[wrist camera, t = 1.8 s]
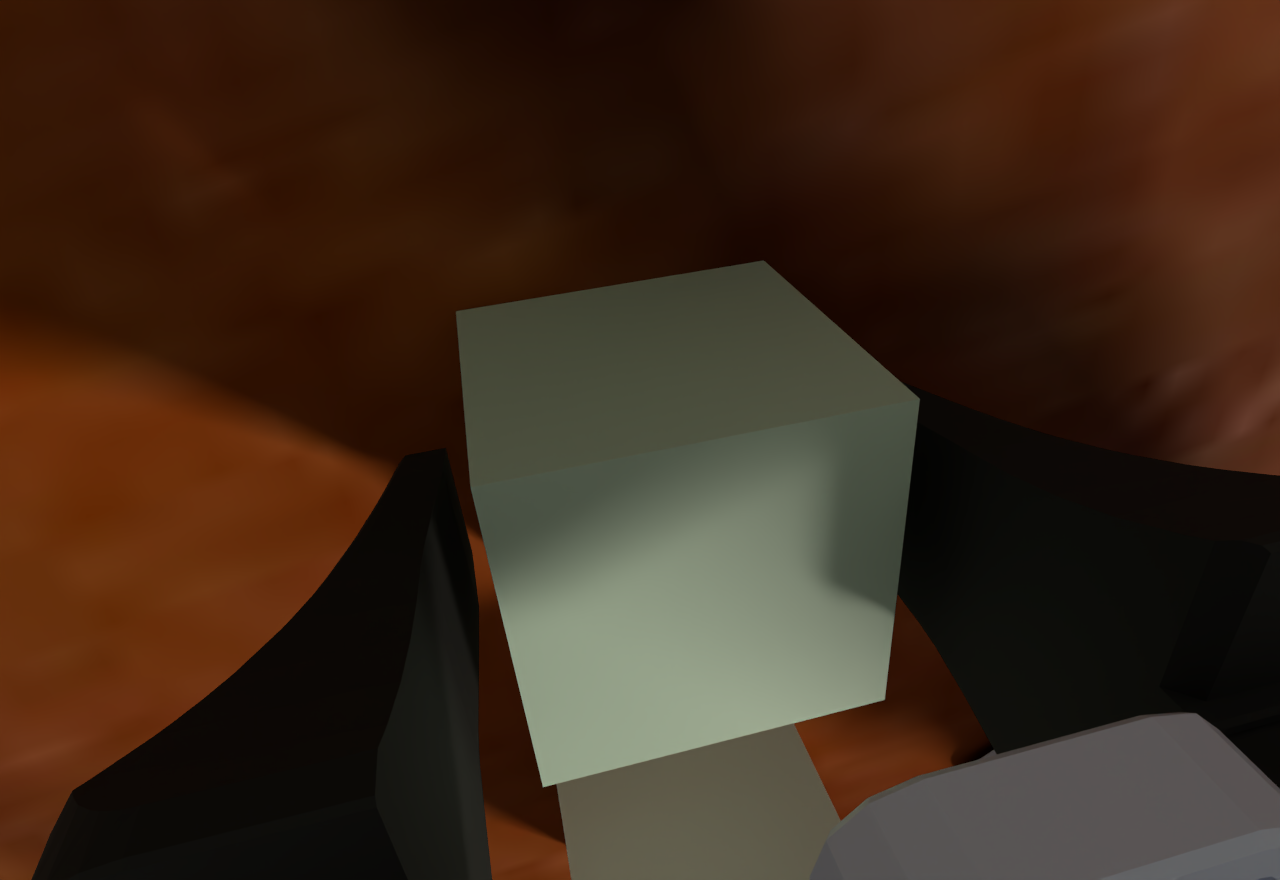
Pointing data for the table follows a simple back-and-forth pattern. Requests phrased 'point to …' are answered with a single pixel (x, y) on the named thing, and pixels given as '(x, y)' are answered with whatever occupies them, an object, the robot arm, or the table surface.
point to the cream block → (702, 814)
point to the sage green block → (684, 510)
